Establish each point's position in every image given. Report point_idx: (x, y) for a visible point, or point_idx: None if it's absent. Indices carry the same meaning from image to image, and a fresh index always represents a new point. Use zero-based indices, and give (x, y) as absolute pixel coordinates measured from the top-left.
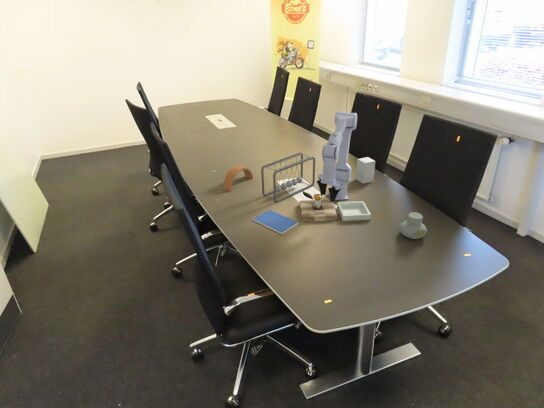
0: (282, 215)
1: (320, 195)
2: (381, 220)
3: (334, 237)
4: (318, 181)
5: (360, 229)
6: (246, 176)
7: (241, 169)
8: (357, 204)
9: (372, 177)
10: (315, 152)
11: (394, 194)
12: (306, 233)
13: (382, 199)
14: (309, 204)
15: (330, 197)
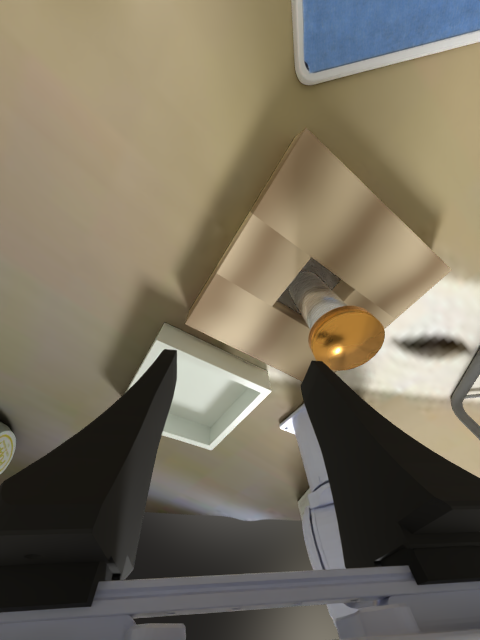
0: (476, 25)
1: (337, 361)
2: None
3: (34, 178)
4: (473, 518)
5: (71, 335)
6: None
7: None
8: (218, 426)
9: (302, 517)
10: None
11: (212, 498)
12: (152, 16)
13: (210, 475)
14: (372, 286)
15: (150, 379)
